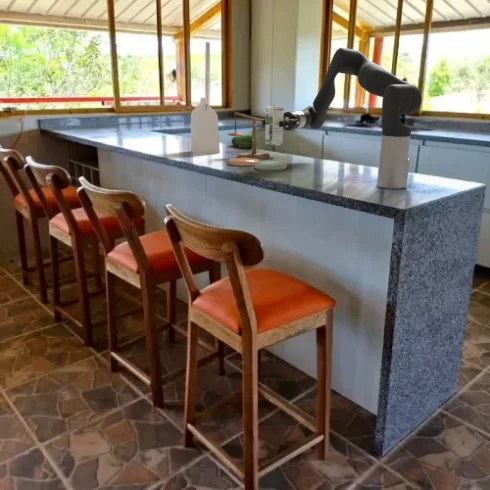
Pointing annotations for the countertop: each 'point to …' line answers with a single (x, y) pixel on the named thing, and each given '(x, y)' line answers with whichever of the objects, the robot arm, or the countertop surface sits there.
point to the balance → (253, 154)
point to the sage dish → (271, 166)
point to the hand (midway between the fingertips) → (271, 123)
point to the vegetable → (243, 141)
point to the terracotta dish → (243, 161)
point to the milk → (204, 129)
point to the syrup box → (274, 125)
